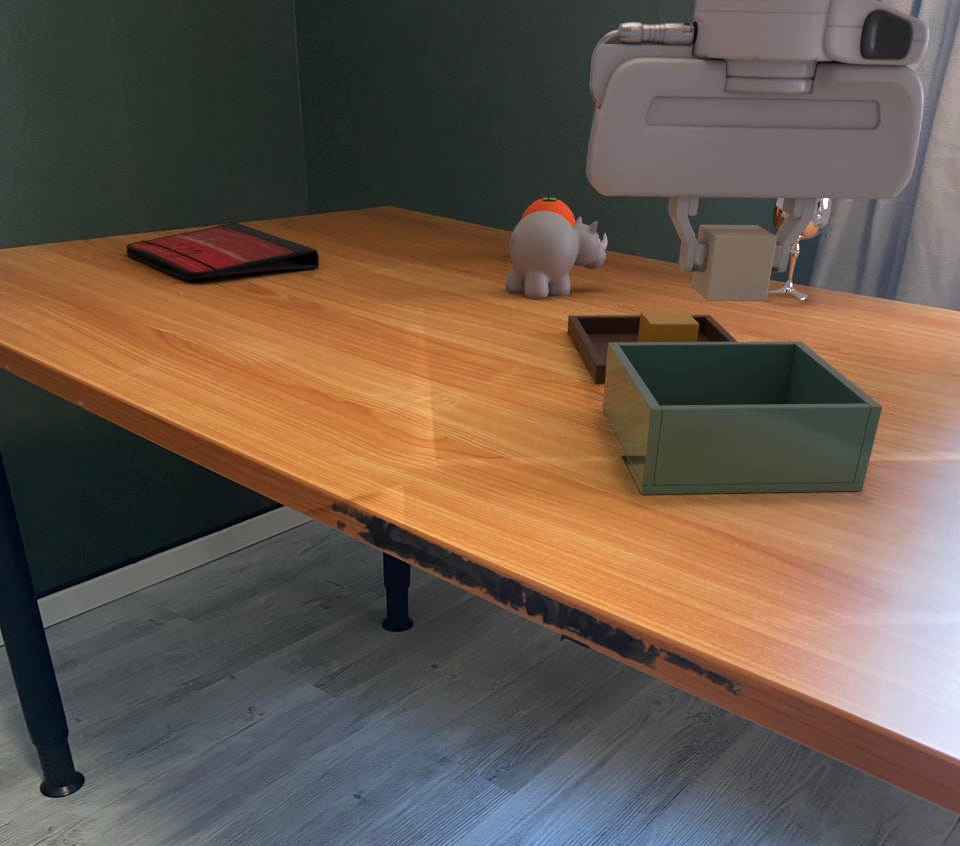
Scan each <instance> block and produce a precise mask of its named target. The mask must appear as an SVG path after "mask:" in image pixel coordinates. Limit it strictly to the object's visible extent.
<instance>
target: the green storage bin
mask: <svg viewBox="0 0 960 846" xmlns="http://www.w3.org/2000/svg"><path fill="white" fill-rule="evenodd" d="M882 409H883V406H882V405H881V404H880V403H878V402H877V401H876V400H874V398H872V397H871V396H869V394H867V393H866V392H865V391H864V390H862V389H861V388H860V387H858V386H857V385H856V384H855V383H853V382H852V381H851V380H850V379H848V378H847V377H846V376H845V375H844V374H842V373H841V372H840V371H839V370H838V369H836V368H835V366H833V365H831V364H830V363H829V362H828V361H826V359H824V358H823V357H821V356H820V355H819V354H818V353H817V352H815V351H814V350H813V349H812V348H810V347H809V346H808V345H806V344H805V342H803V341H801V340H798V341H797V340H795V341H787V340H786V341H782V340H781V341H738V342H619V343H617V342H609V343H608V351H607V363H606V375H605V384H604V388H603V400H602V412H603V414H604V416H605V418H606V419H607V422H608V424H609V425H610V427H611V429H612V431H613V433H614V435H615V436H616V439H617V441H618V442H619V445H620V446H621V448H622V451H623V452H624V454H625V455H622V457H621V458H622V459H623V460H624V463H625V465H626V467H627V468H628V471H629V473H630V474H631V476H632V478H633V480H634V481H635V484H636V486H637V489H638V490H639V492H640V494H641V495H645V496H646V495H647V496H648V495H698V494H699V495H702V494H704V495H705V494H707V495H708V494H759V493H764V494H765V493H766V494H767V493H817V492H818V493H821V492H822V493H823V492H825V493H826V492H829V493H830V492H862V491H863V490H864V485H865V482H866V477H867V473H868V469H869V465H870V461H871V456H872V452H873V447H874V444H875V439H876V435H877V431H878V426H879V422H880V418H881V414H882V411H883V410H882Z"/></svg>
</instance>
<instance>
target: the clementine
mask: <svg viewBox="0 0 960 846" xmlns="http://www.w3.org/2000/svg"><path fill="white" fill-rule="evenodd" d="M537 211H551V212H555V213H557V214H559V215H561V216H563V217H564V218H565V219H566V220H567V221H568V222H569V223H570V224H571V225H572V226H574V225H575V223H576V219H575V216H574V213H573V211H572V210H571V208H570V207H569V206H568V205H567V204H566V203H565V202H564V201H562V200H560V199H557V198H556V197H550V196H548V197H543V198H539V199H536V200H535V201H533V202H532V203H531V204H530V205H528V206H527V208H526V209H525V210H524V211H523V214H522V216H521V219H520V221H521V220H522V219H523V218H524V217H526V216H527V215H529V214H531V213H534V212H537Z"/></svg>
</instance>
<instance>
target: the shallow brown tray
mask: <svg viewBox="0 0 960 846" xmlns="http://www.w3.org/2000/svg"><path fill="white" fill-rule="evenodd" d="M640 315H641V314H626V315H625V314H621V315H620V314H613V315H611V314H608V315H607V314H605V315H604V314H601V315H600V314H599V315H593V314H592V315H588V314H587V315H586V314H585V315H580V314H579V315H574V314H573V315H568V317H567V334H568V336H569V338H570V340H571V341H572V342H571V343H572V344H573V345H574V347H575V349H576V351H577V353H578V355H579V357H580V358H581V360H582V362H583V364H584V366H585V368H586V370H587V371H588V373H589V375H590V377H591V379H592V381H593V383H594V384H595V385H605V375H606V363H607V351H608V343H609V342H617V343H619V342H638V335H639V325H640ZM690 315H691V316H692V317H693V318H694V319H695V320H696V321H697V322H698V323H699V329H698V336H697V342H739V341H738V340H737V339H736V338H735V337H734V336H732V335H731V334H730V332H729V331H727V330H726V329H725V328H724V326H722V325H721V324H720V323H719V322H718V321H717V320H716V319H715V318H714V317H713V316H712V315H711V314H690Z"/></svg>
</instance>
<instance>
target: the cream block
mask: <svg viewBox="0 0 960 846" xmlns="http://www.w3.org/2000/svg"><path fill="white" fill-rule="evenodd" d="M775 235H776V234H773V232H770V231H768V230H767V229H765V228H763V227H761V226H759V225H758V224H700V225H699V227H698V234H697V239H702V240H704V241H705V242H706V243H708V244H709V251H708V257H707V258H706V260H707V265H706V269H705V271H704V272H692V281H691V287H692V288H693V289H694V290H695V291H696V292H697V293H698V294H699V295H700V296H701V297H702V298H703V299H705V300H706V301H709V302H711V301H713V302H715V301H716V302H719V301H721V302H722V301H723V302H728V301H729V302H766V301H767V299H768V291H769V286H770V280H771V275H772V272H771V269H772V263H773V258H774V252H775V246H776V240H777V236H775Z"/></svg>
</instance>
